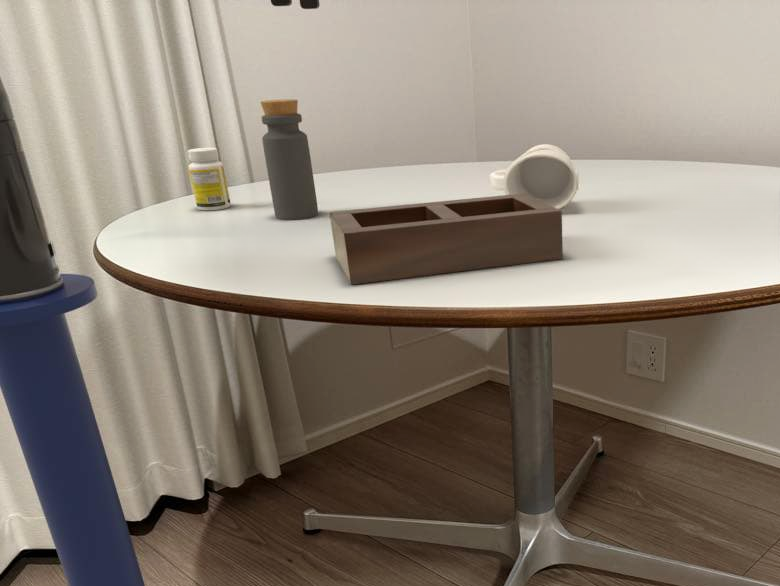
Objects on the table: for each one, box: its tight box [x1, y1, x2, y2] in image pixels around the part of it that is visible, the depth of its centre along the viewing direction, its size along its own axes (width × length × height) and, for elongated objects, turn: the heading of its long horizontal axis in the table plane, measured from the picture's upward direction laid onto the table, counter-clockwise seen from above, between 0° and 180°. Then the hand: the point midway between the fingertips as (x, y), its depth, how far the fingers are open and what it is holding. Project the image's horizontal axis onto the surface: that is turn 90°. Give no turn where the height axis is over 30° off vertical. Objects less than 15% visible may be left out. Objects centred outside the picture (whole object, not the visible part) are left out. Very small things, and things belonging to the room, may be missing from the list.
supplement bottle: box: [187, 147, 232, 211], centre depth 116 cm, size 5×5×8 cm
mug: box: [489, 143, 580, 210], centre depth 107 cm, size 12×9×8 cm
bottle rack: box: [329, 194, 564, 286], centre depth 83 cm, size 12×22×5 cm, turn 110°
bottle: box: [260, 98, 319, 220], centre depth 107 cm, size 6×6×15 cm
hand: (296, 7), depth 93 cm, fingers open, 8 cm apart
